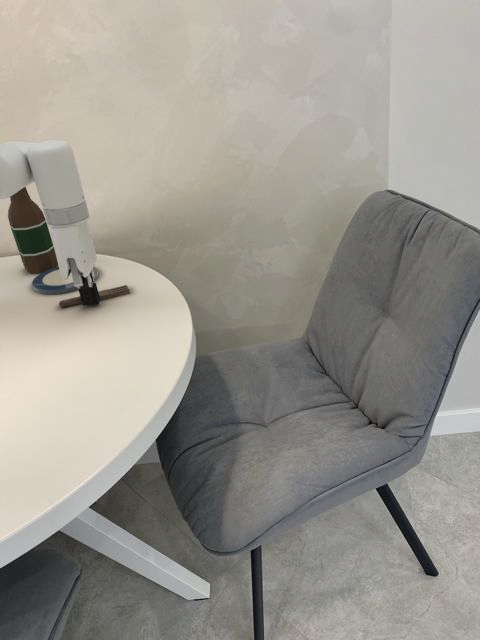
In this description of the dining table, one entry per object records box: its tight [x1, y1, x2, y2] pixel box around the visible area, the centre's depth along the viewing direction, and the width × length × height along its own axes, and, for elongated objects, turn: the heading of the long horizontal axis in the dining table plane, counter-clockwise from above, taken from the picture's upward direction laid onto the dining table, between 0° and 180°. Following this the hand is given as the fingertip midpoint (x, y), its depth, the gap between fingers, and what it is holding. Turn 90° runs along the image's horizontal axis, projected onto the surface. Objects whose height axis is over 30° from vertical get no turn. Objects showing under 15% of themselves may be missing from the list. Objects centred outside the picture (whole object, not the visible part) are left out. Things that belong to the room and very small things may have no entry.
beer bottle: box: [7, 186, 59, 275], centre depth 123 cm, size 8×8×24 cm
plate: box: [31, 265, 99, 295], centre depth 121 cm, size 14×14×1 cm
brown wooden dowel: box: [58, 284, 130, 308], centre depth 111 cm, size 14×3×1 cm, turn 113°
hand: (91, 303), depth 109 cm, fingers closed
